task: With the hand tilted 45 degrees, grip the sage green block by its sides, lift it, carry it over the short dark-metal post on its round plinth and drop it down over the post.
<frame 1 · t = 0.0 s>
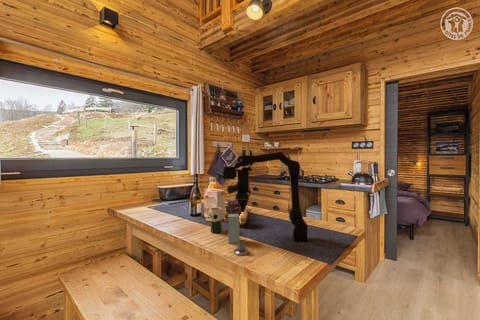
hand: (243, 209, 115), 15 cm above the table, tool pointing down, fingers open, 9 cm apart
supplement box: (235, 225, 136), on the table
coffeecake box: (214, 218, 152), on the table
cream head figurine: (216, 231, 126), on the table
sage green block: (234, 241, 111), on the table
post: (241, 252, 99), on the table
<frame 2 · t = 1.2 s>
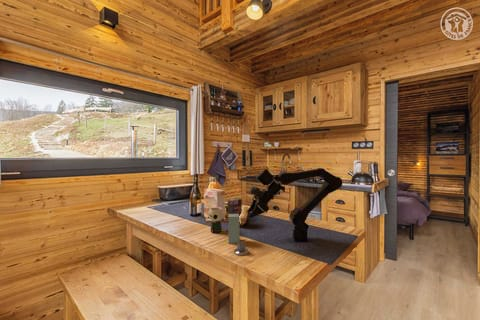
hand: (248, 214, 111), 13 cm above the table, tool tilted 45°, fingers open, 9 cm apart
nothing on the table moved.
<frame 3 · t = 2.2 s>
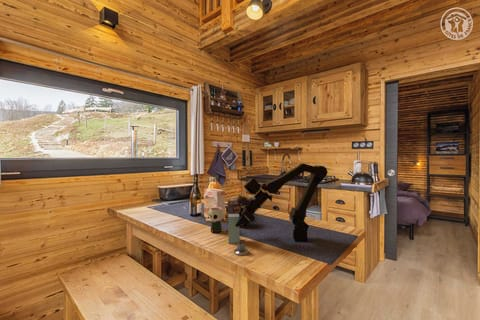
hand: (235, 223, 111), 9 cm above the table, tool tilted 45°, fingers open, 9 cm apart
nothing on the table moved.
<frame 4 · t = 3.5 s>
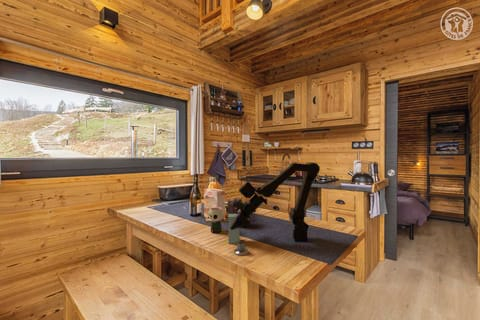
hand: (231, 227, 111), 7 cm above the table, tool tilted 45°, fingers closed on sage green block, 5 cm apart
sage green block: (234, 241, 111), on the table, touching gripper
everything else where it was.
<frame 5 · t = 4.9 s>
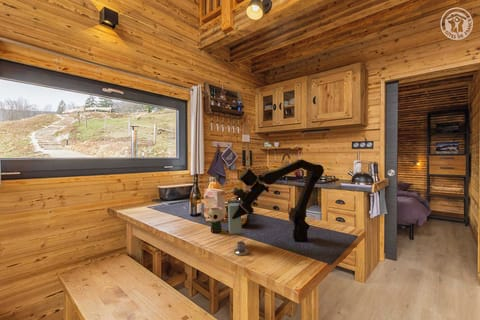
hand: (231, 217, 106), 13 cm above the table, tool tilted 45°, fingers closed on sage green block, 5 cm apart
sage green block: (234, 231, 107), point 6 cm above the table, touching gripper
everything else where it was.
when the fingers open (9 cm above the table, at t = 6.8 s): sage green block stays where it is, resting on post.
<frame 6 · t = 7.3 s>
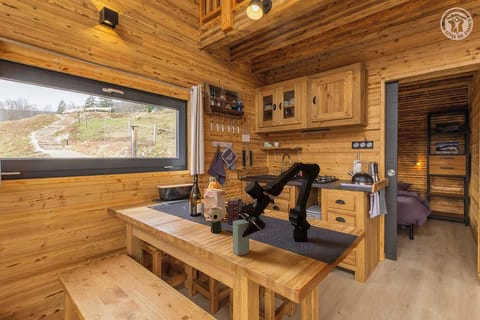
hand: (238, 233, 98), 9 cm above the table, tool tilted 45°, fingers open, 9 cm apart
sage green block: (241, 250, 99), point 1 cm above the table, touching post
everything else where it was.
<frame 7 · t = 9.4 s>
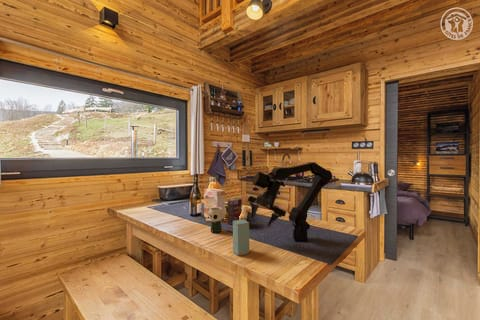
hand: (259, 222, 106), 11 cm above the table, tool tilted 25°, fingers open, 9 cm apart
nothing on the table moved.
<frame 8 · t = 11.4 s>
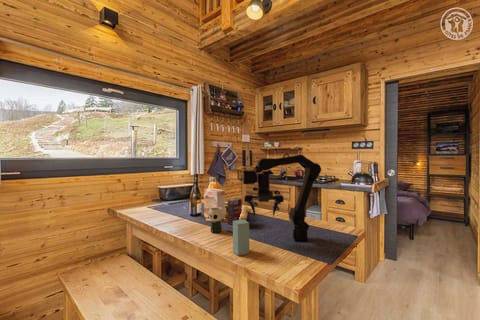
hand: (264, 215, 110), 13 cm above the table, tool pointing down, fingers open, 9 cm apart
nothing on the table moved.
at the end: sage green block 0.1 cm from the post (horizontally); sage green block point 0.6 cm above the table; sage green block tilted 0° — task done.
